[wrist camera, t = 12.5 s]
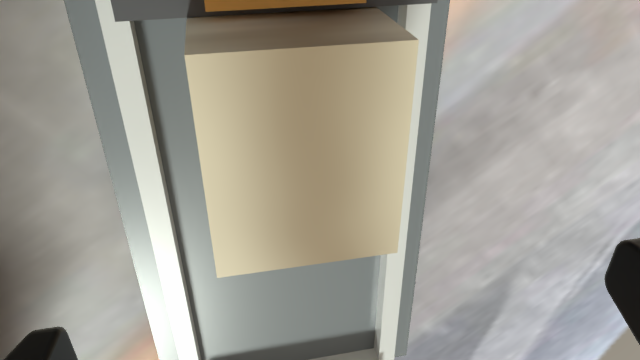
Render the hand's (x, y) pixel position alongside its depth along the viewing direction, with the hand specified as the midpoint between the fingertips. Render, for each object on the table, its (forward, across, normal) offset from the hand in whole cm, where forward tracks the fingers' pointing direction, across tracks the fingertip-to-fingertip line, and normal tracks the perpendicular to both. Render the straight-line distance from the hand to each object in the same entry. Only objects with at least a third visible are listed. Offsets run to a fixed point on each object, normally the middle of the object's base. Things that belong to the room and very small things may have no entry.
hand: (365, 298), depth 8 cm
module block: (+11, 0, 0) cm, 11 cm away
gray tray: (+12, 0, +6) cm, 13 cm away
